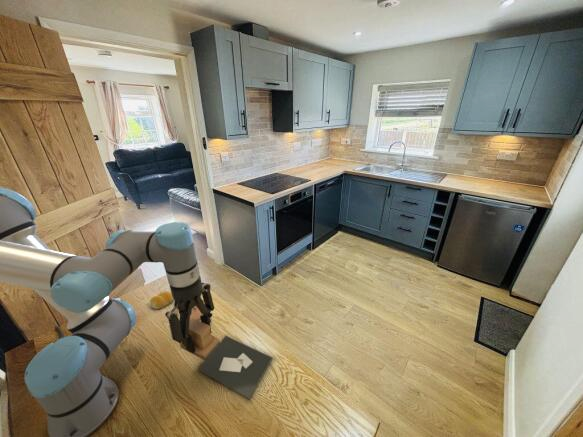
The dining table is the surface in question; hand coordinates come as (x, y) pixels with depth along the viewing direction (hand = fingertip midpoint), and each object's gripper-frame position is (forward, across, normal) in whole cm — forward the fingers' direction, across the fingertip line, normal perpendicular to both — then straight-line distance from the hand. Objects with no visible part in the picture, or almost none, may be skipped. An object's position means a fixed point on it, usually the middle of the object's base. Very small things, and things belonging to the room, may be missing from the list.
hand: (199, 340), depth 71 cm
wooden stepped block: (+2, 0, 0) cm, 2 cm away
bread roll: (+15, +15, +40) cm, 45 cm away
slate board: (+15, +6, -7) cm, 18 cm away
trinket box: (+15, +13, +17) cm, 26 cm away
